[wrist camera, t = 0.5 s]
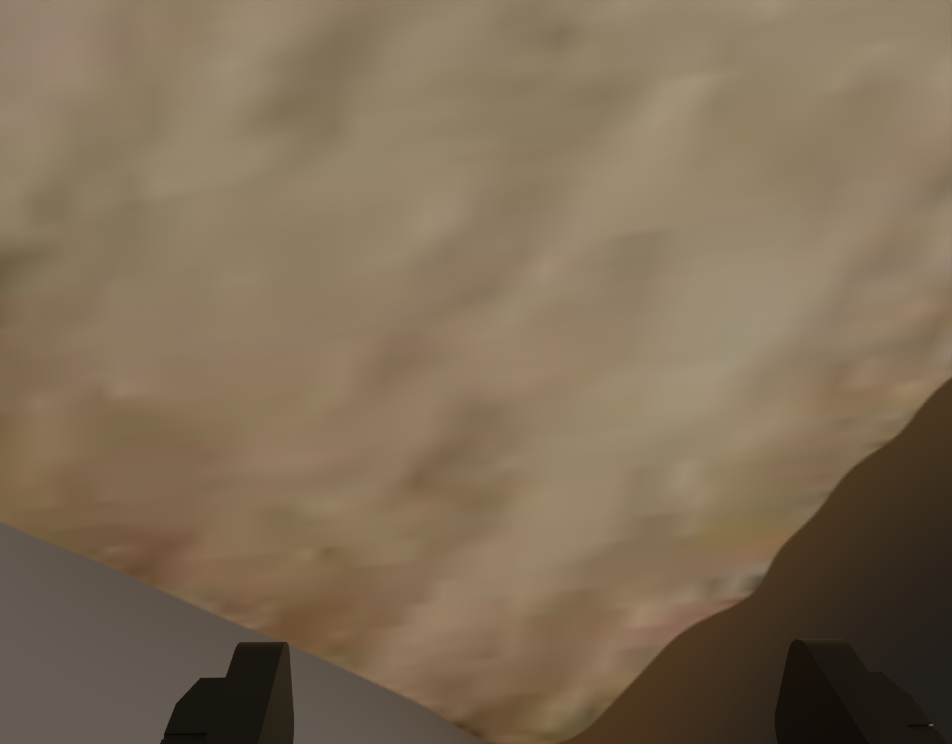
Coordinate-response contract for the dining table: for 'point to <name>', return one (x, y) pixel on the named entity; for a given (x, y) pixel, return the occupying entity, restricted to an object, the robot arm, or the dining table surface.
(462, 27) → the dining table surface
